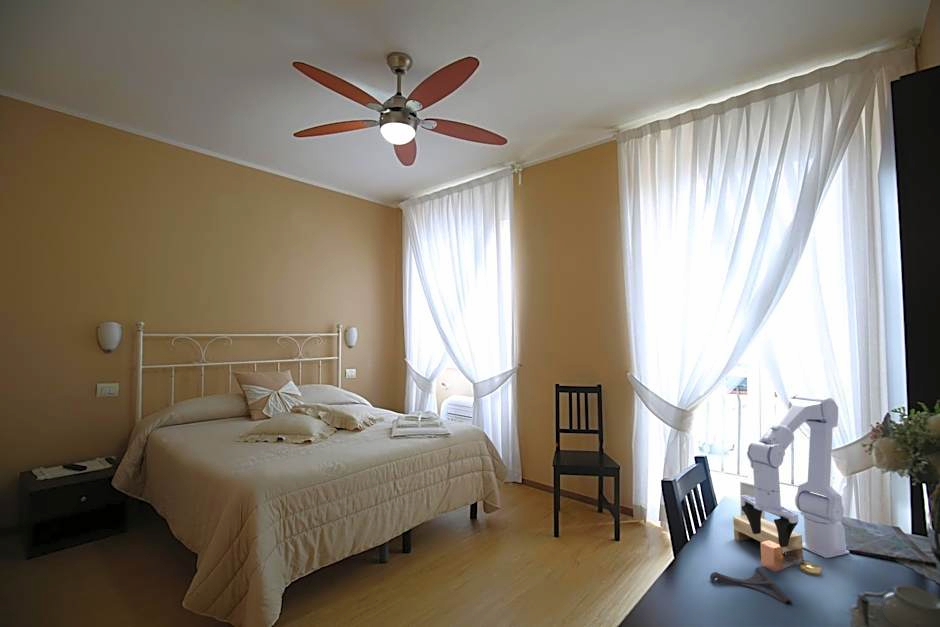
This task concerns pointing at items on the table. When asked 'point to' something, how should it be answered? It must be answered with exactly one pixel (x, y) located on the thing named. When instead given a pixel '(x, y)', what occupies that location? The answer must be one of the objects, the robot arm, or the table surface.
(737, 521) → the wooden plank block
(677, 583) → the table surface
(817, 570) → the token
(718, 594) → the table surface
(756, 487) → the robot arm
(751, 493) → the skincare box
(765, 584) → the bracket
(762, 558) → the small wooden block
